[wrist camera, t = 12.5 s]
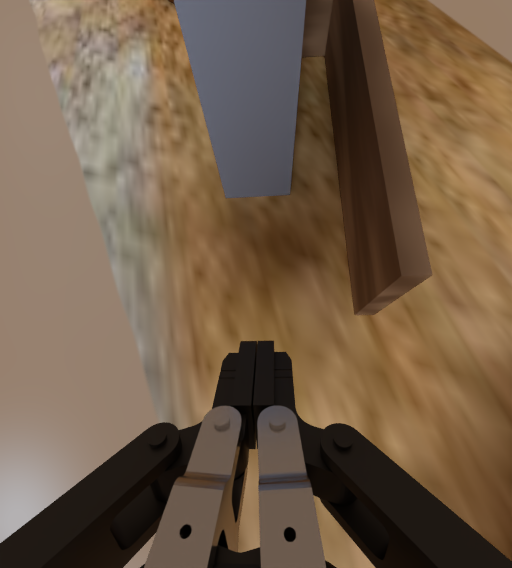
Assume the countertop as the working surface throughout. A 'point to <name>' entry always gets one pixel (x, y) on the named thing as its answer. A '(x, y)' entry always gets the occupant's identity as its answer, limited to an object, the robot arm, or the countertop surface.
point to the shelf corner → (368, 154)
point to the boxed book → (247, 86)
